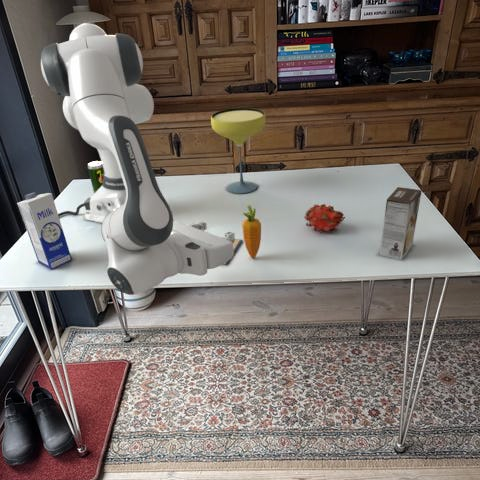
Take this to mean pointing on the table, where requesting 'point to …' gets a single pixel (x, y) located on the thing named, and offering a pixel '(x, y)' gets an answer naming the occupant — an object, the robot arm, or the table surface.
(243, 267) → the table surface
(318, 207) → the dragon fruit
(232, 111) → the cocktail glass
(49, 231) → the milk carton
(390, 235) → the coffee box
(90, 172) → the beer can
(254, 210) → the carrot
